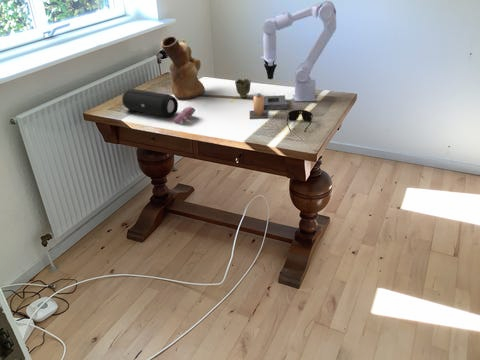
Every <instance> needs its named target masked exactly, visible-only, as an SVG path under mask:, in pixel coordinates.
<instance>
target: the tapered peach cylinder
mask: <svg viewBox="0 0 480 360" xmlns="http://www.w3.org/2000/svg"><path fill="white" fill-rule="evenodd" d="M264 96H265V95H262V94H261V93H260V92H257V93H255V95H253V100H252V101H253V111H254V115H256V116H262V115H264Z"/></svg>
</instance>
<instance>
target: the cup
mask: <svg viewBox="0 0 480 360" xmlns="http://www.w3.org/2000/svg"><path fill="white" fill-rule="evenodd" d="M234 83H235V90H236V92H237V94H239V97H240V98H241V99H245V98H247V97H248V94H249V93H250V91H251V83H252V82H251V80H250V79H248V78H244V79H243V80H242V78H241V79H240V78H238V79H237V80H235V81H234Z"/></svg>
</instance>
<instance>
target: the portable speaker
mask: <svg viewBox="0 0 480 360" xmlns="http://www.w3.org/2000/svg"><path fill="white" fill-rule="evenodd" d="M121 99H122V100H121V101H122V104H123V107H125V108H126V109H128V110H129V111H134V112H139V113H142V114H143V113H144V114H148V115H149V114H150V115H154V116H159V117H165V118H169V117H173V116H175V115H176V113H177V111H178V108H179V102H178V99H177V97H175V96H173V95H171V94H167V93H159V92H155V91H148V90H141V89H136V88H130V89H127V90H126V91H124V93H123V95H122V97H121Z"/></svg>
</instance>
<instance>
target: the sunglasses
mask: <svg viewBox="0 0 480 360" xmlns="http://www.w3.org/2000/svg"><path fill="white" fill-rule="evenodd" d="M286 116H287V117H286V125H287V127H288V130H289V132H291V131H292V130H291V127H290V126H289V123H288V122H289V121H291V122H293V121H295V122H296V121H297V120H298V119H299V117H300V116H301V118H302V120H303V121H304V122H309V124H308V125H307V126H306V127H305V129H304V131H303V132H304V133H306V131H307V129H308V128H309V127H310V125H311V123H312V120H313V117H314V115H313V113H312V112H311V111H309V110H307V109H293V110H289V112H288V113H287V115H286Z"/></svg>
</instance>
